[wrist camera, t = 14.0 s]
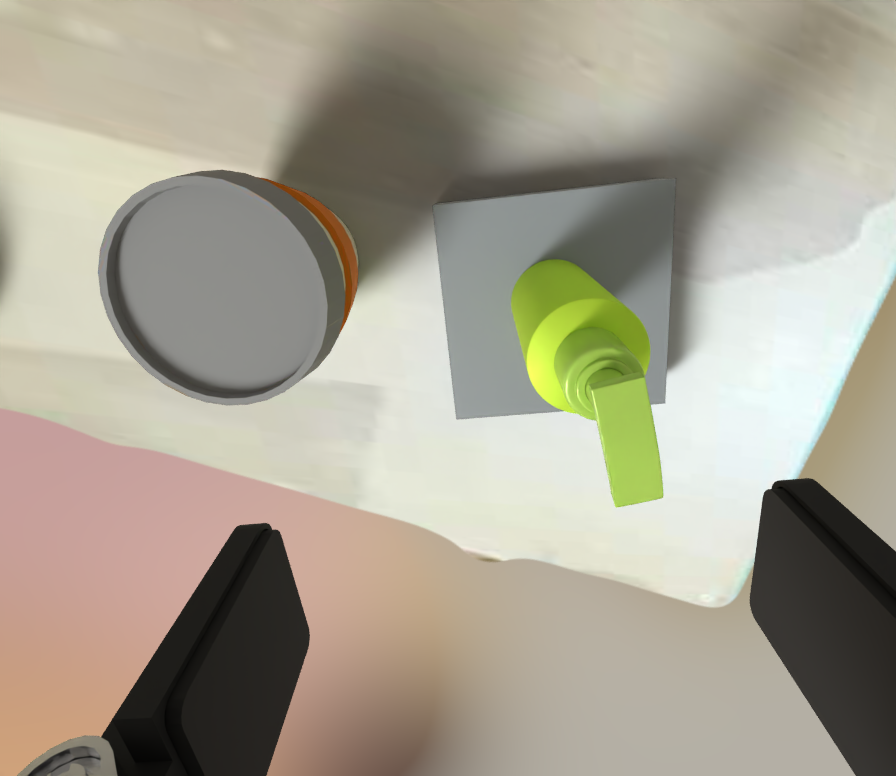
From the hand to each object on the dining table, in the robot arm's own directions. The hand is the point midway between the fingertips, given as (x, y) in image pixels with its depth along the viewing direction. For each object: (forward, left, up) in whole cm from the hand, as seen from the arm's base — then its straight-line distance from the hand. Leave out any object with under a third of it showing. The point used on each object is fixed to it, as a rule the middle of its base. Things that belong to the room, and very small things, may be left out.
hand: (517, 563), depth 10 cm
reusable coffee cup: (-3, -14, -33) cm, 36 cm away
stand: (+2, +5, -33) cm, 33 cm away
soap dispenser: (+2, +5, -29) cm, 30 cm away
